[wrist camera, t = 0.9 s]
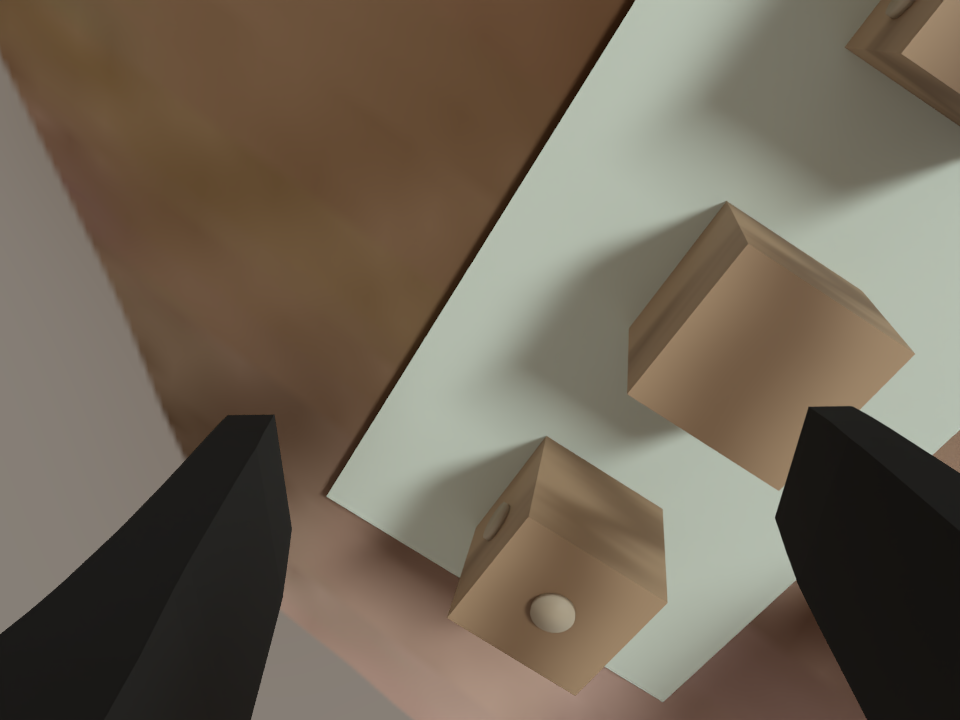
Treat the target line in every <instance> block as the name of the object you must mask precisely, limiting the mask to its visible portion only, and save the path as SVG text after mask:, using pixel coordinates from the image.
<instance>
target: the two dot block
mask: <svg viewBox="0 0 960 720" xmlns="http://www.w3.org/2000/svg"><path fill="white" fill-rule="evenodd" d="M845 48H846V49H848V50H849V51H851V52H852V53H853V54H855V55H856V56H858V57H859V58H861V59H862V60H864V61H865V62H867V63H868V64H869V65H871V66H872V67H874V68H875V69H877V70H878V71H880V72H881V73H883V74H884V75H886V76H887V77H888V78H890V79H891V80H893V81H894V82H896V83H897V84H899V85H900V86H902V87H903V88H904V89H906V90H907V91H909V92H910V93H912V94H913V95H915V96H916V97H918V98H919V99H921V100H922V101H923V102H925V103H926V104H928V105H929V106H931V107H932V108H934V109H935V110H937V111H938V112H940V113H941V114H942V115H944V116H945V117H947V118H948V119H950V120H951V121H953V122H954V123H956V124H957V125H958V126H960V0H880V2H879V3H878V4H877V6H876V7H875V8H874V10H873V11H872V12H871V13H870V15H869V16H868V17H867V19H866V20H865V21H864V23H863V24H862V25H861V26H860V28H859V29H858V30H857V32H856V33H855V34H854V36H853V37H852V38H851V39H850V41H849V42H848V43H847V45H846V46H845Z"/></svg>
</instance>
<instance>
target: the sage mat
mask: <svg viewBox="0 0 960 720" xmlns="http://www.w3.org/2000/svg"><path fill="white" fill-rule="evenodd" d="M879 2H880V0H635V2H634V4H633V5H632V7H631V8H630V10H629V12H628V13H627V15H626V16H625V18H624V20H623V21H622V23H621V24H620V26H619V28H618V29H617V31H616V32H615V34H614V36H613V37H612V39H611V41H610V42H609V44H608V45H607V47H606V49H605V50H604V52H603V53H602V55H601V57H600V58H599V60H598V61H597V63H596V65H595V66H594V68H593V69H592V71H591V73H590V74H589V76H588V77H587V79H586V81H585V82H584V84H583V85H582V87H581V89H580V90H579V92H578V93H577V95H576V97H575V98H574V100H573V101H572V103H571V105H570V106H569V108H568V110H567V111H566V113H565V114H564V116H563V118H562V119H561V121H560V122H559V124H558V126H557V127H556V129H555V130H554V132H553V134H552V135H551V137H550V138H549V140H548V142H547V143H546V145H545V146H544V148H543V150H542V151H541V153H540V154H539V156H538V158H537V159H536V161H535V162H534V164H533V166H532V167H531V169H530V171H529V172H528V174H527V175H526V177H525V179H524V180H523V182H522V183H521V185H520V187H519V188H518V190H517V191H516V193H515V195H514V196H513V198H512V199H511V201H510V203H509V204H508V206H507V207H506V209H505V211H504V212H503V214H502V215H501V217H500V219H499V220H498V222H497V223H496V225H495V227H494V228H493V230H492V232H491V233H490V235H489V236H488V238H487V240H486V241H485V243H484V244H483V246H482V248H481V249H480V251H479V252H478V254H477V256H476V257H475V259H474V260H473V262H472V264H471V265H470V267H469V268H468V270H467V272H466V273H465V275H464V276H463V278H462V280H461V281H460V283H459V284H458V286H457V288H456V289H455V291H454V293H453V294H452V296H451V297H450V299H449V301H448V302H447V304H446V305H445V307H444V309H443V310H442V312H441V313H440V315H439V317H438V318H437V320H436V321H435V323H434V325H433V326H432V328H431V329H430V331H429V333H428V334H427V336H426V337H425V339H424V341H423V342H422V344H421V345H420V347H419V349H418V350H417V352H416V354H415V355H414V357H413V358H412V360H411V362H410V363H409V365H408V366H407V368H406V370H405V371H404V373H403V374H402V376H401V378H400V379H399V381H398V382H397V384H396V386H395V387H394V389H393V390H392V392H391V394H390V395H389V397H388V398H387V400H386V402H385V403H384V405H383V406H382V408H381V410H380V411H379V413H378V415H377V416H376V418H375V419H374V421H373V423H372V424H371V426H370V427H369V429H368V431H367V432H366V434H365V435H364V437H363V439H362V440H361V442H360V443H359V445H358V447H357V448H356V450H355V451H354V453H353V455H352V456H351V458H350V459H349V461H348V463H347V464H346V466H345V467H344V469H343V471H342V472H341V474H340V475H339V477H338V479H337V480H336V482H335V484H334V485H333V487H332V488H331V490H330V492H329V493H328V495H327V496H326V497H328V498H330V499H331V500H333V501H335V502H336V503H338V504H340V505H341V506H343V507H344V508H346V509H348V510H349V511H351V512H353V513H354V514H356V515H357V516H359V517H361V518H362V519H364V520H366V521H367V522H369V523H371V524H372V525H374V526H375V527H377V528H379V529H380V530H382V531H384V532H385V533H387V534H389V535H390V536H392V537H393V538H395V539H397V540H398V541H400V542H402V543H403V544H405V545H407V546H408V547H410V548H411V549H413V550H415V551H416V552H418V553H420V554H421V555H423V556H425V557H426V558H428V559H429V560H431V561H433V562H434V563H436V564H438V565H439V566H441V567H443V568H444V569H446V570H447V571H449V572H451V573H452V574H454V575H456V576H457V577H459V578H460V576H461V573H462V570H463V567H464V563H465V560H466V557H467V554H468V551H469V548H470V545H471V542H472V539H473V535H474V532H475V529H476V527H477V526H478V524H479V523H480V522H481V520H482V519H483V518H484V517H485V515H486V514H487V513H488V511H489V510H490V509H491V507H492V506H493V505H494V503H495V502H496V501H497V500H498V498H499V497H500V496H501V494H502V493H503V492H504V490H505V489H506V488H507V487H508V485H509V484H510V483H511V481H512V480H513V479H514V477H515V476H516V475H517V474H518V472H519V471H520V470H521V468H522V467H523V466H524V464H525V463H526V462H527V460H528V459H529V458H530V457H531V455H532V454H533V453H534V451H535V450H536V449H537V447H538V446H539V445H540V444H541V442H542V441H543V440H544V438H545V437H546V436H548V437H549V438H551V439H552V440H554V441H556V442H557V443H559V444H560V445H562V446H563V447H565V448H567V449H568V450H570V451H571V452H573V453H575V454H576V455H578V456H579V457H581V458H583V459H584V460H586V461H587V462H589V463H590V464H592V465H594V466H595V467H597V468H598V469H600V470H602V471H603V472H605V473H606V474H608V475H610V476H611V477H613V478H614V479H616V480H617V481H619V482H621V483H622V484H624V485H625V486H627V487H629V488H630V489H632V490H633V491H635V492H637V493H638V494H640V495H641V496H643V497H644V498H646V499H648V500H649V501H651V502H652V503H654V504H656V505H657V506H659V507H660V508H662V509H663V524H664V543H665V562H666V582H667V601H668V603H667V604H666V605H665V606H664V607H663V608H662V609H661V610H660V611H659V612H658V613H657V614H656V615H655V616H654V617H653V618H652V619H651V620H650V621H649V622H648V623H647V624H646V625H645V626H644V627H643V628H642V629H641V630H640V631H639V632H638V633H637V634H636V635H635V636H634V637H633V638H632V639H631V640H630V641H629V642H628V643H627V644H626V645H625V646H624V647H623V648H622V649H621V650H620V651H619V652H618V653H617V654H616V655H615V656H614V657H613V658H612V659H611V660H610V661H609V662H608V663H607V664H606V665H605V666H604V667H606V668H608V669H609V670H611V671H613V672H614V673H616V674H618V675H619V676H621V677H622V678H624V679H626V680H627V681H629V682H631V683H632V684H634V685H635V686H637V687H639V688H640V689H642V690H644V691H645V692H647V693H649V694H650V695H652V696H653V697H655V698H657V699H658V700H660V701H662V702H664V701H665V700H666V699H667V698H668V697H669V696H670V695H671V694H672V693H674V692H675V691H676V690H677V689H678V688H679V687H680V686H681V685H682V684H683V683H684V682H686V681H687V680H688V679H689V678H690V677H691V676H692V675H693V674H694V673H695V672H696V671H697V670H699V669H700V668H701V667H702V666H703V665H704V664H705V663H706V662H707V661H708V660H709V659H711V658H712V657H713V656H714V655H715V654H716V653H717V652H718V651H719V650H720V649H721V648H723V647H724V646H725V645H726V644H727V643H728V642H729V641H730V640H731V639H732V638H733V637H735V636H736V635H737V634H738V633H739V632H740V631H741V630H742V629H743V628H744V627H745V626H746V625H748V624H749V623H750V622H751V621H752V620H753V619H754V618H755V617H756V616H757V615H758V614H760V613H761V612H762V611H763V610H764V609H765V608H766V607H767V606H768V605H769V604H770V603H772V602H773V601H774V600H775V599H776V598H777V597H778V596H779V595H780V594H781V593H782V592H784V591H785V590H786V589H787V588H788V587H789V586H790V585H791V584H792V583H793V582H794V581H796V577H795V575H794V572H793V569H792V567H791V564H790V561H789V559H788V556H787V553H786V550H785V547H784V544H783V541H782V538H781V535H780V532H779V529H778V526H777V523H776V520H775V515H776V512H777V509H778V505H779V502H780V499H781V496H782V492H783V489H784V486H785V485H784V486H783V488H782V489H781V490H780V491H778V490H776V489H775V488H773V487H772V486H770V485H768V484H767V483H765V482H764V481H762V480H761V479H759V478H757V477H756V476H754V475H753V474H751V473H750V472H748V471H747V470H745V469H743V468H742V467H740V466H739V465H737V464H736V463H734V462H732V461H731V460H729V459H728V458H726V457H725V456H723V455H721V454H720V453H718V452H717V451H715V450H714V449H712V448H711V447H709V446H707V445H706V444H704V443H703V442H701V441H700V440H698V439H696V438H695V437H693V436H692V435H690V434H689V433H687V432H685V431H684V430H682V429H681V428H679V427H678V426H676V425H674V424H673V423H671V422H670V421H668V420H667V419H665V418H664V417H662V416H660V415H659V414H657V413H656V412H654V411H653V410H651V409H649V408H648V407H646V406H645V405H643V404H642V403H640V402H638V401H637V400H635V399H634V398H632V397H631V396H629V395H628V394H627V379H628V343H629V328H630V326H631V325H632V324H633V322H634V321H635V320H636V318H637V317H638V316H639V314H640V313H641V312H642V311H643V309H644V308H645V307H646V305H647V304H648V303H649V301H650V300H651V299H652V298H653V296H654V295H655V294H656V292H657V291H658V290H659V288H660V287H661V286H662V285H663V283H664V282H665V281H666V279H667V278H668V277H669V275H670V274H671V273H672V271H673V270H674V269H675V268H676V266H677V265H678V264H679V262H680V261H681V260H682V258H683V257H684V256H685V255H686V253H687V252H688V251H689V249H690V248H691V247H692V245H693V244H694V243H695V242H696V240H697V239H698V238H699V236H700V235H701V234H702V232H703V231H704V230H705V228H706V227H707V226H708V225H709V223H710V222H711V221H712V219H713V218H714V217H715V215H716V214H717V213H718V212H719V210H720V209H721V208H722V206H723V205H724V204H725V202H726V201H728V202H729V203H731V204H732V205H734V206H735V207H737V208H738V209H740V210H741V211H743V212H744V213H746V214H747V215H749V216H750V217H752V218H753V219H755V220H756V221H758V222H759V223H761V224H762V225H764V226H765V227H767V228H768V229H770V230H771V231H773V232H774V233H776V234H777V235H779V236H780V237H782V238H783V239H785V240H786V241H788V242H789V243H791V244H792V245H794V246H795V247H797V248H798V249H800V250H801V251H803V252H804V253H806V254H807V255H809V256H811V257H812V258H814V259H815V260H817V261H818V262H820V263H821V264H823V265H824V266H826V267H827V268H829V269H830V270H832V271H833V272H835V273H836V274H838V275H839V276H841V277H842V278H844V279H845V280H847V281H848V282H850V283H851V284H853V285H854V286H856V287H857V288H859V289H860V290H862V291H863V292H864V294H865V295H866V296H867V297H868V298H869V300H870V301H871V302H872V303H873V304H874V306H875V307H876V308H877V309H878V310H879V311H880V313H881V314H882V315H883V316H884V317H885V319H886V320H887V321H888V322H889V323H890V324H891V326H892V327H893V328H894V329H895V330H896V332H897V333H898V334H899V335H900V336H901V337H902V339H903V340H904V341H905V342H906V343H907V345H908V346H909V347H910V348H911V349H912V351H913V352H914V353H915V355H914V356H913V357H912V358H911V359H910V360H909V361H908V362H907V363H906V364H905V365H904V366H903V367H902V368H901V369H900V370H899V371H898V372H897V373H896V374H895V375H894V376H893V377H892V378H891V379H890V380H889V381H888V382H887V383H886V384H885V385H884V386H883V387H882V388H881V389H880V390H879V391H878V392H877V393H876V394H875V395H874V396H873V397H872V398H871V399H870V400H869V401H868V402H867V403H866V404H865V405H864V406H863V407H862V408H861V409H860V411H862V412H864V413H866V414H868V415H869V416H871V417H873V418H874V419H876V420H878V421H879V422H881V423H883V424H884V425H886V426H887V427H889V428H891V429H892V430H894V431H895V432H897V433H899V434H900V435H902V436H903V437H905V438H906V439H908V440H909V441H911V442H913V443H914V444H916V445H917V446H919V447H920V448H922V449H923V450H925V451H926V452H928V453H929V454H931V455H933V454H934V453H935V452H936V451H937V450H938V449H939V448H940V447H941V446H943V445H944V444H945V443H946V442H947V441H948V440H949V439H950V438H951V437H952V436H953V435H955V434H956V433H957V432H958V431H959V430H960V126H958V125H957V124H956V123H954V122H953V121H951V120H950V119H948V118H947V117H945V116H944V115H942V114H941V113H940V112H938V111H937V110H935V109H934V108H932V107H931V106H929V105H928V104H926V103H925V102H923V101H922V100H921V99H919V98H918V97H916V96H915V95H913V94H912V93H910V92H909V91H907V90H906V89H904V88H903V87H902V86H900V85H899V84H897V83H896V82H894V81H893V80H891V79H890V78H888V77H887V76H886V75H884V74H883V73H881V72H880V71H878V70H877V69H875V68H874V67H872V66H871V65H869V64H868V63H867V62H865V61H864V60H862V59H861V58H859V57H858V56H856V55H855V54H853V53H852V52H851V51H849V50H848V49H846V48H845V46H846V45H847V43H848V42H849V41H850V39H851V38H852V37H853V36H854V34H855V33H856V32H857V30H858V29H859V28H860V26H861V25H862V24H863V23H864V21H865V20H866V19H867V17H868V16H869V15H870V13H871V12H872V11H873V10H874V8H875V7H876V6H877V4H878V3H879Z"/></svg>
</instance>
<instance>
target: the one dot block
mask: <svg viewBox="0 0 960 720" xmlns="http://www.w3.org/2000/svg"><path fill="white" fill-rule="evenodd" d="M667 603H668V601H667V582H666V562H665V543H664V524H663V509H662V508H660V507H659V506H657V505H656V504H654V503H652V502H651V501H649V500H648V499H646V498H644V497H643V496H641V495H640V494H638V493H637V492H635V491H633V490H632V489H630V488H629V487H627V486H625V485H624V484H622V483H621V482H619V481H617V480H616V479H614V478H613V477H611V476H610V475H608V474H606V473H605V472H603V471H602V470H600V469H598V468H597V467H595V466H594V465H592V464H590V463H589V462H587V461H586V460H584V459H583V458H581V457H579V456H578V455H576V454H575V453H573V452H571V451H570V450H568V449H567V448H565V447H563V446H562V445H560V444H559V443H557V442H556V441H554V440H552V439H551V438H549V437H548V436H546V437H545V438H544V440H543V441H542V442H541V444H540V445H539V446H538V447H537V449H536V450H535V451H534V453H533V454H532V455H531V457H530V458H529V459H528V460H527V462H526V463H525V464H524V466H523V467H522V468H521V470H520V471H519V472H518V474H517V475H516V476H515V477H514V479H513V480H512V481H511V483H510V484H509V485H508V487H507V488H506V489H505V490H504V492H503V493H502V494H501V496H500V497H499V498H498V500H497V501H496V502H495V503H494V505H493V506H492V507H491V509H490V510H489V511H488V513H487V514H486V515H485V517H484V518H483V519H482V520H481V522H480V523H479V524H478V526H477V527H476V529H475V532H474V535H473V539H472V542H471V545H470V548H469V551H468V554H467V557H466V560H465V563H464V567H463V570H462V573H461V576H460V579H459V582H458V585H457V588H456V592H455V595H454V598H453V601H452V604H451V607H450V610H449V613H448V617H447V618H448V619H449V620H451V621H453V622H454V623H456V624H458V625H459V626H461V627H463V628H464V629H466V630H468V631H469V632H471V633H473V634H474V635H476V636H477V637H479V638H481V639H482V640H484V641H486V642H487V643H489V644H491V645H492V646H494V647H496V648H497V649H499V650H501V651H502V652H504V653H505V654H507V655H509V656H510V657H512V658H514V659H515V660H517V661H519V662H520V663H522V664H524V665H525V666H527V667H529V668H530V669H532V670H533V671H535V672H537V673H538V674H540V675H542V676H543V677H545V678H547V679H548V680H550V681H552V682H553V683H555V684H557V685H558V686H560V687H561V688H563V689H565V690H566V691H568V692H570V693H571V694H573V695H575V696H576V695H577V694H578V693H579V692H580V691H581V690H582V689H583V688H584V687H585V686H586V685H587V684H588V683H589V682H590V681H591V680H592V678H593V677H594V676H595V675H596V674H597V673H598V672H599V671H600V670H601V669H602V668H603V667H604V666H605V665H606V664H607V663H608V662H609V661H610V660H611V659H612V658H613V657H614V656H615V655H616V654H617V653H618V652H619V651H620V650H621V649H622V648H623V647H624V646H625V645H626V644H627V643H628V642H629V641H630V640H631V639H632V638H633V637H634V636H635V635H636V634H637V633H638V632H639V631H640V630H641V629H642V628H643V627H644V626H645V625H646V624H647V623H648V622H649V621H650V620H651V619H652V618H653V617H654V616H655V615H656V614H657V613H658V612H659V611H660V610H661V609H662V608H663V607H664V606H665V605H666V604H667Z"/></svg>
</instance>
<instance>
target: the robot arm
mask: <svg viewBox="0 0 960 720" xmlns="http://www.w3.org/2000/svg"><path fill="white" fill-rule="evenodd" d="M775 520H776V523H777V526H778V529H779V532H780V535H781V538H782V541H783V544H784V547H785V550H786V553H787V556H788V559H789V561H790V564H791V567H792V569H793V572H794V575H795V577H796V580H797V583H798V585H799V587H800V589H801V591H802V593H803V595H804V597H805V599H806V601H807V603H808V605H809V607H810V609H811V611H812V613H813V615H814V617H815V619H816V621H817V623H818V625H819V627H820V629H821V631H822V633H823V635H824V637H825V639H826V641H827V643H828V645H829V647H830V649H831V651H832V653H833V654H834V656H835V658H836V660H837V662H838V664H839V666H840V668H841V670H842V672H843V674H844V676H845V678H846V680H847V682H848V683H849V685H850V687H851V689H852V691H853V693H854V695H855V697H856V699H857V701H858V703H859V705H860V707H861V709H862V711H863V713H864V714H865V716H866V718H867V720H960V473H959V472H957V471H955V470H954V469H952V468H951V467H949V466H948V465H946V464H945V463H943V462H942V461H940V460H939V459H937V458H936V457H934V456H932V455H931V454H929V453H928V452H926V451H925V450H923V449H922V448H920V447H919V446H917V445H916V444H914V443H913V442H911V441H909V440H908V439H906V438H905V437H903V436H902V435H900V434H899V433H897V432H895V431H894V430H892V429H891V428H889V427H887V426H886V425H884V424H883V423H881V422H879V421H878V420H876V419H874V418H873V417H871V416H869V415H868V414H866V413H864V412H862V411H860V410H859V409H857V408H855V407H853V406H819V407H808V410H807V414H806V417H805V420H804V423H803V427H802V430H801V433H800V437H799V440H798V443H797V446H796V450H795V453H794V456H793V459H792V463H791V466H790V469H789V473H788V476H787V479H786V482H785V486H784V489H783V492H782V496H781V499H780V502H779V505H778V509H777V512H776V515H775ZM291 531H292V527H291V520H290V514H289V507H288V501H287V494H286V487H285V481H284V474H283V468H282V461H281V455H280V448H279V442H278V435H277V428H276V422H275V415H228V416H227V417H225V418H224V419H223V420H222V421H221V422H220V423H219V424H218V425H217V427H216V428H215V429H214V430H213V431H212V432H211V433H210V434H209V435H208V436H207V437H206V438H205V439H204V440H203V442H202V443H201V444H200V445H199V446H198V447H197V448H196V449H195V450H194V451H193V453H192V454H191V455H190V456H189V457H188V458H187V459H186V460H185V461H184V462H183V463H182V465H181V466H180V467H179V468H178V469H177V470H176V471H175V472H174V473H173V474H172V475H171V477H169V479H168V480H167V481H166V482H165V483H164V484H163V485H162V486H161V487H160V488H159V489H158V490H157V491H156V492H155V493H154V494H153V495H152V496H151V497H150V498H149V499H148V500H147V501H146V503H144V504H143V506H142V507H141V508H140V509H139V510H138V511H137V512H136V513H135V514H134V515H133V516H132V517H131V518H130V519H129V520H128V521H127V522H126V523H125V524H124V525H123V526H122V527H121V528H120V529H119V530H118V531H117V532H116V533H115V534H114V535H113V536H112V537H111V538H110V539H109V540H108V541H106V542H105V543H104V544H103V545H102V546H101V547H100V548H99V549H98V550H97V551H96V552H95V553H94V554H93V555H91V556H90V557H89V558H88V559H87V560H86V561H85V562H84V563H83V564H82V565H81V566H80V567H79V568H78V569H76V570H75V572H73V573H72V574H71V575H70V576H69V577H68V578H67V579H66V580H65V581H64V582H62V583H61V584H60V585H59V586H58V587H57V588H56V589H55V590H53V591H52V592H51V593H50V594H49V595H48V596H46V597H45V598H44V599H43V600H42V601H41V602H39V603H38V604H37V605H36V606H35V607H34V608H32V609H31V610H30V611H29V612H28V613H26V614H25V615H24V616H23V617H22V618H20V619H19V620H18V621H16V622H15V623H14V624H12V625H11V626H10V627H9V628H7V629H6V630H5V631H4V632H2V633H1V634H0V720H251V717H252V713H253V709H254V705H255V701H256V698H257V694H258V690H259V686H260V683H261V679H262V675H263V671H264V668H265V664H266V660H267V656H268V652H269V648H270V645H271V641H272V637H273V633H274V629H275V625H276V621H277V618H278V614H279V610H280V606H281V602H282V598H283V591H284V584H285V577H286V570H287V562H288V555H289V547H290V539H291Z"/></svg>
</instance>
